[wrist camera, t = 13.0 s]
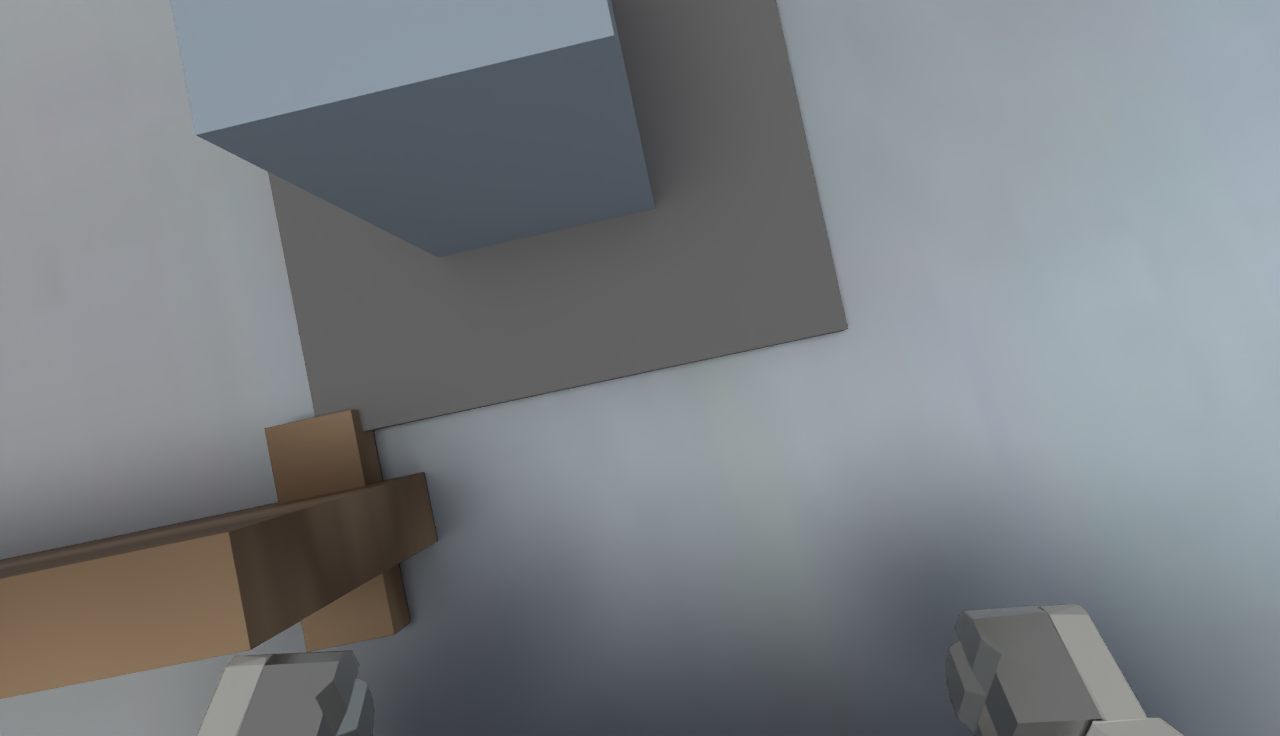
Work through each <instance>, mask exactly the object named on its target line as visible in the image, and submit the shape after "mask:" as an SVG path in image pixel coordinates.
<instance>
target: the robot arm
mask: <svg viewBox="0 0 1280 736" xmlns="http://www.w3.org/2000/svg"><path fill="white" fill-rule="evenodd" d="M955 630H956V632H957V635H958V637H959V641H958V642H956V643H955V644H954V645H953V646H951V647H950V648H949V651H948V656H947V660H946V678H947V686H948V691H949V695H950V699H951V702H952V705H953V708H954V711H955V714H956V717H957V719H958V720H960V721H961V722H962V723H963V724H964V725H965V726H966V727H968V728H969V729H970V730H971V731H972V732H973V733H975V734H974V736H1184V735H1183V734H1181V733H1180V732H1179V731H1177V730H1176V729H1174V728H1173V727H1172V726H1170V725H1169V724H1168V723H1166V722H1165V721H1164V720H1162V719H1161V718H1160V717H1155V718H1148V717H1147V716H1146V714H1145V712H1144V710H1143V709H1142V707H1141V705H1140V703H1139V702H1138V700H1137V698H1136V696H1135V695H1134V693H1133V691H1132V690H1131V688H1130V686H1129V684H1128V683H1127V681H1126V679H1125V677H1124V676H1123V674H1122V672H1121V670H1120V669H1119V667H1118V665H1117V663H1116V662H1115V660H1114V658H1113V656H1112V655H1111V653H1110V651H1109V650H1108V648H1107V646H1106V644H1105V643H1104V641H1103V639H1102V637H1101V636H1100V634H1099V632H1098V630H1097V629H1096V627H1095V625H1094V623H1093V622H1092V620H1091V618H1090V617H1089V615H1088V613H1087V611H1086V610H1084V609H1083V608H1082V607H1081V606H1080V605H1079V604H1062V605H1050V606H1038V607H1037V606H1035V605H1033V606H1021V607H1008V608H996V609H983V610H971V611H963V612H962V613H961V614H960V615H959V616H958V618H957V622H956V625H955ZM358 668H359V663H358V661H357V659H356V657H355V655H354V653H353V651H352V650H351V651H331V652H310V653H290V654H264V655H248V656H235V657H234V659H233V660H232V661H231V662H230V663H229V665H228V666H227V667H226V668H225V670H224V672H223V675H222V677H221V679H220V682H219V684H218V686H217V689H216V691H215V693H214V696H213V698H212V701H211V703H210V705H209V708H208V710H207V712H206V715H205V717H204V719H203V722H202V724H201V727H200V729H199V731H198V734H197V736H373V730H374V712H375V710H374V704H373V697H372V694H371V691H370V689H369V686H368V684H366V683H364V682H363V681H361V680H359V679H358V678H356V676H357V672H358Z"/></svg>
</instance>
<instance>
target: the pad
mask: <svg viewBox="0 0 1280 736" xmlns="http://www.w3.org/2000/svg"><path fill="white" fill-rule="evenodd" d="M611 2H612V7H613V11H614V16H615V21H616V26H617V30H618V35H619V40H620V44H621V49H622V54H623V59H624V63H625V68H626V73H627V78H628V82H629V87H630V92H631V96H632V101H633V106H634V111H635V115H636V120H637V125H638V129H639V134H640V139H641V144H642V148H643V153H644V158H645V163H646V167H647V172H648V177H649V181H650V186H651V191H652V196H653V200H654V205H655V209H651V210H647V211H642V212H638V213H633V214H629V215H624V216H620V217H615V218H611V219H606V220H602V221H598V222H593V223H589V224H584V225H580V226H575V227H571V228H566V229H562V230H557V231H553V232H548V233H544V234H540V235H535V236H531V237H526V238H522V239H517V240H513V241H508V242H504V243H499V244H495V245H490V246H486V247H481V248H477V249H473V250H468V251H464V252H459V253H455V254H450V255H446V256H441V257H436V256H434V255H432V254H430V253H428V252H426V251H424V250H422V249H420V248H418V247H416V246H414V245H412V244H410V243H408V242H406V241H404V240H402V239H400V238H398V237H396V236H394V235H392V234H390V233H389V232H387V231H385V230H383V229H381V228H379V227H377V226H375V225H373V224H371V223H369V222H367V221H365V220H363V219H361V218H359V217H357V216H355V215H353V214H351V213H349V212H347V211H345V210H343V209H341V208H339V207H337V206H335V205H333V204H331V203H329V202H327V201H325V200H323V199H321V198H319V197H317V196H315V195H313V194H311V193H309V192H307V191H306V190H304V189H302V188H300V187H298V186H296V185H294V184H292V183H290V182H288V181H286V180H284V179H282V178H280V177H278V176H276V175H274V174H272V173H270V172H268V174H269V179H270V184H271V190H272V195H273V200H274V205H275V210H276V215H277V221H278V226H279V231H280V236H281V241H282V247H283V252H284V257H285V262H286V267H287V272H288V278H289V283H290V288H291V293H292V298H293V303H294V309H295V314H296V319H297V324H298V329H299V335H300V340H301V345H302V350H303V355H304V360H305V366H306V371H307V376H308V381H309V386H310V391H311V397H312V402H313V407H314V412H315V417H320V416H325V415H330V414H335V413H339V412H344V411H349V410H358V412H359V417H360V422H361V427H362V431H370V430H376V429H380V428H385V427H390V426H394V425H399V424H404V423H409V422H413V421H418V420H423V419H428V418H432V417H437V416H442V415H447V414H451V413H456V412H461V411H465V410H470V409H475V408H480V407H484V406H489V405H494V404H499V403H503V402H508V401H513V400H517V399H522V398H527V397H532V396H536V395H541V394H546V393H551V392H555V391H560V390H565V389H570V388H574V387H579V386H584V385H588V384H593V383H598V382H603V381H607V380H612V379H617V378H622V377H626V376H631V375H636V374H641V373H645V372H650V371H655V370H659V369H664V368H669V367H674V366H678V365H683V364H688V363H693V362H697V361H702V360H707V359H711V358H716V357H721V356H726V355H730V354H735V353H740V352H745V351H749V350H754V349H759V348H764V347H768V346H773V345H778V344H782V343H787V342H792V341H797V340H801V339H806V338H811V337H816V336H820V335H825V334H830V333H834V332H839V331H843V330H846V329H848V327H847V323H846V318H845V314H844V309H843V305H842V300H841V296H840V291H839V286H838V282H837V277H836V273H835V268H834V264H833V259H832V255H831V250H830V246H829V241H828V236H827V232H826V227H825V223H824V218H823V214H822V209H821V205H820V200H819V195H818V191H817V186H816V182H815V177H814V173H813V168H812V164H811V159H810V154H809V150H808V145H807V141H806V136H805V132H804V127H803V123H802V118H801V113H800V109H799V104H798V100H797V95H796V91H795V86H794V82H793V77H792V73H791V68H790V63H789V59H788V54H787V50H786V45H785V41H784V36H783V32H782V27H781V22H780V18H779V13H778V9H777V4H776V0H611Z"/></svg>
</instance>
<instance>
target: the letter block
mask: <svg viewBox="0 0 1280 736" xmlns="http://www.w3.org/2000/svg"><path fill="white" fill-rule="evenodd" d="M170 3H171V8H172V13H173V18H174V24H175V29H176V34H177V39H178V45H179V50H180V55H181V60H182V66H183V71H184V76H185V82H186V87H187V92H188V97H189V103H190V108H191V113H192V118H193V124H194V129H195V134H196V135H197V136H199V137H201V138H203V139H205V140H207V141H209V142H211V143H213V144H215V145H217V146H219V147H221V148H223V149H224V150H226V151H228V152H230V153H232V154H234V155H236V156H238V157H240V158H242V159H244V160H246V161H248V162H250V163H252V164H254V165H256V166H258V167H260V168H262V169H264V170H266V171H268V172H270V173H272V174H274V175H276V176H278V177H280V178H282V179H284V180H286V181H288V182H290V183H292V184H294V185H296V186H298V187H300V188H302V189H304V190H306V191H307V192H309V193H311V194H313V195H315V196H317V197H319V198H321V199H323V200H325V201H327V202H329V203H331V204H333V205H335V206H337V207H339V208H341V209H343V210H345V211H347V212H349V213H351V214H353V215H355V216H357V217H359V218H361V219H363V220H365V221H367V222H369V223H371V224H373V225H375V226H377V227H379V228H381V229H383V230H385V231H387V232H389V233H390V234H392V235H394V236H396V237H398V238H400V239H402V240H404V241H406V242H408V243H410V244H412V245H414V246H416V247H418V248H420V249H422V250H424V251H426V252H428V253H430V254H432V255H434V256H436V257H441V256H446V255H450V254H455V253H459V252H464V251H468V250H473V249H477V248H481V247H486V246H490V245H495V244H499V243H504V242H508V241H513V240H517V239H522V238H526V237H531V236H535V235H540V234H544V233H548V232H553V231H557V230H562V229H566V228H571V227H575V226H580V225H584V224H589V223H593V222H598V221H602V220H606V219H611V218H615V217H620V216H624V215H629V214H633V213H638V212H642V211H647V210H651V209H655V205H654V200H653V196H652V191H651V186H650V181H649V177H648V172H647V167H646V163H645V158H644V153H643V148H642V144H641V139H640V134H639V129H638V125H637V120H636V115H635V111H634V106H633V101H632V96H631V92H630V87H629V82H628V78H627V73H626V68H625V63H624V59H623V54H622V49H621V44H620V40H619V35H618V30H617V26H616V21H615V16H614V11H613V7H612V2H611V0H170Z"/></svg>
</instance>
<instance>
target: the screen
mask: <svg viewBox="0 0 1280 736" xmlns="http://www.w3.org/2000/svg"><path fill="white" fill-rule="evenodd" d="M265 434H266V439H267V444H268V449H269V455H270V460H271V465H272V470H273V475H274V481H275V486H276V491H277V496H278V502H279V503H274V504H269V505H264V506H259V507H255V508H250V509H245V510H240V511H235V512H230V513H226V514H221V515H216V516H211V517H206V518H201V519H197V520H192V521H187V522H182V523H177V524H173V525H168V526H163V527H158V528H153V529H148V530H144V531H139V532H134V533H129V534H124V535H119V536H115V537H110V538H105V539H100V540H95V541H90V542H86V543H81V544H76V545H71V546H66V547H61V548H57V549H52V550H47V551H42V552H37V553H33V554H28V555H23V556H18V557H13V558H8V559H4V560H0V699H2V698H7V697H12V696H17V695H23V694H28V693H33V692H38V691H43V690H48V689H53V688H58V687H63V686H68V685H74V684H79V683H84V682H89V681H94V680H99V679H104V678H109V677H114V676H120V675H125V674H130V673H135V672H140V671H145V670H150V669H155V668H160V667H166V666H171V665H176V664H181V663H186V662H191V661H196V660H201V659H206V658H211V657H217V656H222V655H227V654H232V653H237V652H242V651H247V650H251V649H253V648H255V647H256V646H258V645H260V644H261V643H263V642H265V641H267V640H268V639H270V638H272V637H274V636H275V635H277V634H279V633H280V632H282V631H284V630H286V629H287V628H289V627H291V626H292V625H294V624H296V623H298V622H299V621H301V622H302V628H303V633H304V638H305V643H306V649H307V652H310V651H315V650H320V649H325V648H330V647H335V646H340V645H346V644H351V643H356V642H361V641H366V640H371V639H376V638H382V637H387V636H392V635H395V634H396V633H398V632H399V631H400V630H401V629H402V628H404V627H405V626H406V625H407V624H409V623H410V618H409V613H408V608H407V603H406V598H405V592H404V587H403V582H402V577H401V572H400V567H399V563H400V562H402V561H404V560H406V559H407V558H409V557H411V556H412V555H414V554H416V553H418V552H419V551H421V550H423V549H424V548H426V547H428V546H430V545H431V544H433V543H435V542H436V541H438V540H437V535H436V530H435V525H434V520H433V515H432V509H431V504H430V499H429V494H428V489H427V484H426V479H425V474H424V473H419V474H414V475H409V476H404V477H399V478H395V479H390V480H385V481H383V480H382V475H381V470H380V465H379V460H378V454H377V449H376V444H375V439H374V434H373V430H370V431H362V427H361V422H360V417H359V412H358V410H349V411H344V412H339V413H335V414H330V415H325V416H320V417H316V418H311V419H306V420H302V421H297V422H292V423H288V424H283V425H278V426H274V427H269V428H265Z"/></svg>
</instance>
